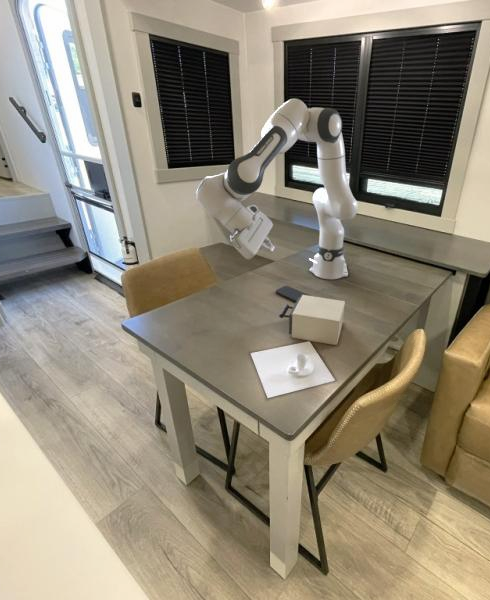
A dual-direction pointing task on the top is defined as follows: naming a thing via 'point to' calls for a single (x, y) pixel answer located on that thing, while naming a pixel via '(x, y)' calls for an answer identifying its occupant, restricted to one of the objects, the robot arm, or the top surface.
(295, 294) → the phone
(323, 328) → the cabinet
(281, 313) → the drawer
